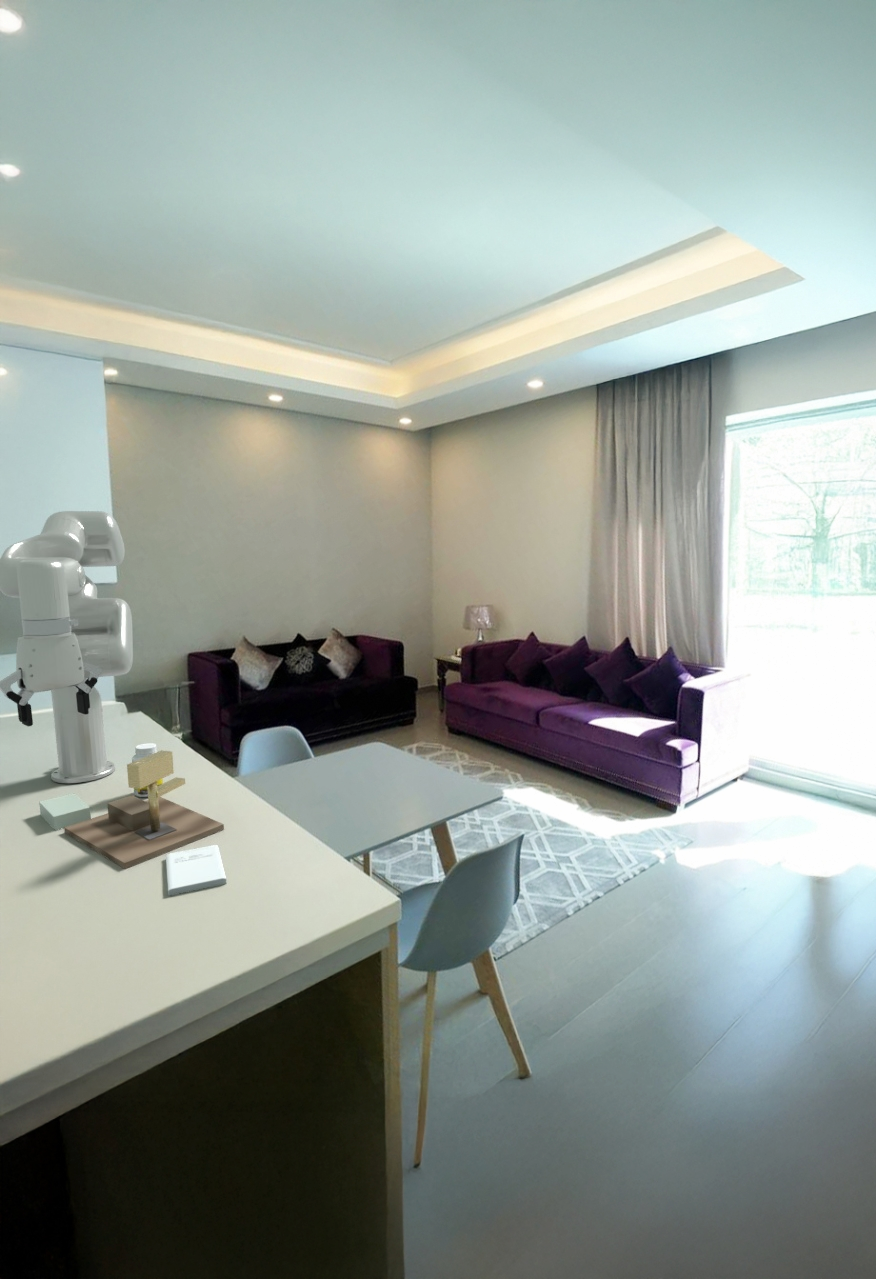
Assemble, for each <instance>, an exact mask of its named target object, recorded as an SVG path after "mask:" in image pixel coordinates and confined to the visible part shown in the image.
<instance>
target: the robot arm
mask: <svg viewBox="0 0 876 1279" xmlns="http://www.w3.org/2000/svg"><path fill="white" fill-rule="evenodd" d="M125 553H126V550H125V543H124V539H123V537H122V534H121V530H120V527H119V524H118V522H117V521H116V519H115V518H114V517H113V516H112V515H111V514H109V512H105V511H98V510H97V511H89V510H88V511H87V510H86V511H83V510H62V511H57V512H55V513H51V514H50V516H49V517H48V518H47V519H46V520H45V523H44V525H43V526H42V529H41V532H40V533H39V534H38V535H33V536H32V537H29V538H26V539H23V540H19V541H18V542H16V543H13V544H11V545H9V546H8V547H7V548H6V549H4V551H3V553H2V554H1V557H0V592H1V593H2V594H3V595H4V596H5V597H9V598H15V599H19V605H20V606H19V607H20V615H21V625H22V632H23V634H22V635H23V636H18V637H17V644H16V654H15V655H16V656H15V658H16V659H15V663H16V664H15V669H16V670H15V671H14V672H12V673H11V674H9V675H8V676H5V677H4V678H3V679H1V680H0V691H1V693H2V694H3V695H4V697H6V698H7V699H9V700H11V701H12V702H13V703H15V704H16V706H17V716H18V721H19V722H21V724H22V725H23V726H26V727H33V724H34V722H33V713H32V712H33V711H32V705H31V704H30V703H29V701H30V699H31V698H32V697H33V696H34V694H35V693H41V692H42V693H44V692H49V691H50V693H51V694H50V695H51V701H52V710H53V711H52V712H53V721H54V722H53V723H54V732H55V743H56V753H57V754H56V755H57V762H58V768H55V770H54V771H52V772H51V774H50V776H51V780H52V781H53V782H55V783H59V784H77V783H79V784H80V783H87V782H90V781H96V780H98V779H102V778H105V777H107V776H109V775H111V774H112V773H113V772H114V771H115V769H116V766H115V763H114V762H112V761H110V760H107V748H106V739H105V738H106V737H105V736H106V735H105V728H104V725H105V724H104V715H103V703H102V697H101V693H100V692H99V691H98V688H96V687H95V686H96V684H97V683H98V679H99V678H103V677H104V678H105V677H115V676H123V675H126V674H128V673H129V672H130V671H131V669H132V666H133V661H134V646H133V644H134V641H133V640H134V639H133V635H134V634H133V633H134V632H133V616H132V610H131V608H130V605H129V604H128V602H126V600H124V599H122V598H117V597H100V598H99V597H98V588H97V585H96V584H95V583H94V582H93V580H92V579H91V578H90V577H89V576H87V575H86V572H85V569H84V568H90V567H91V568H97V567H102V568H103V567H116V566H119V565H121V564H122V562H123V561H124V559H125V555H126V554H125ZM15 683H16V685H17V687H18V688H19V691H18V692H17V693H16V692H14V690H12V687H11V686H12V685H13V684H15Z"/></svg>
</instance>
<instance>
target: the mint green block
mask: <svg viewBox="0 0 876 1279" xmlns="http://www.w3.org/2000/svg"><path fill="white" fill-rule="evenodd" d="M38 805H39V812H40V816H41V817H42V819H44V821H45V822H47V824H48V825H49V826H50V825H51V826H52V827H53V828H52V827H51V826H50V827H51V828H52V829H53V830H54V829H55V830H56V831H58V829H59V830H62V829H61V828H63V829H64V827H67V826H70V825H73V824H76V823H80V822H83V821H86V820H89V819H92V814H91V806H89V805H88V804H87V803H86V802H84V801H83V800H82V799H81V798H80V797H79V796H78V795H77V794H75V793H74V792H72V793H69V794H66V795H61V796H56V797H53V798H49V799H45V800H41V801H39V802H38ZM55 830H54V831H55Z"/></svg>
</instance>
